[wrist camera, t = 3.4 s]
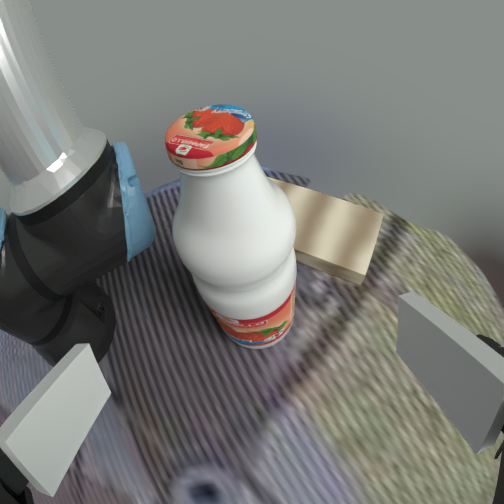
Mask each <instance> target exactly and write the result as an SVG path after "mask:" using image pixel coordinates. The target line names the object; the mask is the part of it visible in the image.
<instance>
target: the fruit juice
mask: <svg viewBox="0 0 504 504" xmlns="http://www.w3.org/2000/svg"><path fill="white" fill-rule="evenodd" d="M256 139H257V133H256V128H255V125H254V121H253V119H252V117H251V115H250V114H249V113H248V112H247V111H245V110H244V109H242V108H240V107H236V106H232V105H212V106H207V107H203V108H199V109H196V110H194V111H191V112H189V113H187V114H185V115H183V116H182V117H180V118H179V119H178V120H176V121H175V122H174V123H173V124H172V125H171V126H170V127H169V129H168V131H167V133H166V136H165V145H166V149H167V153H168V156H169V159H170V160H171V162H172V164H173V166H174V167H175V168H176V169H177V170H178V171H179V172H180V197H179V203H178V207H177V209H176V211H175V214H174V218H173V225H172V234H173V241H174V245H175V248H176V250H177V253H178V255H179V257H180V259H181V261H182V262H183V264H184V265H185V266H186V268H187V269H188V270H189V271H190V272H191V273H192V277H193V280H194V283H195V285H196V287H197V290H198V292H199V294H200V295H201V297H202V299H203V300H204V301H205V303H206V304H207V306H208V307H209V309H210V310H211V312H212V314H213V315H214V317H215V318H216V320H217V321H218V323H219V324H220V326H221V327H222V329H223V330H224V332H225V333H226V335H227V336H228V337H229V338H230V339H231V340H232V341H234V342H235V343H237V344H238V345H240V346H243V347H246V348H250V349H263V348H267V347H270V346H272V345H274V344H276V343H278V342H279V341H280V340H282V339H283V338H284V337H285V335H286V334H287V333H288V331H289V329H290V327H291V325H292V323H293V318H294V306H295V287H296V272H297V267H296V256H295V251H294V247H293V244H294V241H295V235H296V223H295V215H294V211H293V207H292V205H291V202H290V200H289V199H288V197H287V195H286V194H285V193H284V191H283V190H282V189H281V188H280V187H279V186H278V185H277V184H276V183H274V182H273V181H272V180H270V179H269V178H267V177H266V175H265V173H264V172H263V170H262V168H261V166H260V165H259V163H258V161H257V159H256V157H255V155H254V151H255V148H256V144H257V141H256Z"/></svg>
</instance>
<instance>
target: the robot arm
mask: <svg viewBox="0 0 504 504" xmlns="http://www.w3.org/2000/svg"><path fill="white" fill-rule="evenodd" d="M0 169H1V170H2V172H3V173H4V175H5V176H6V177H7V179H8V180H9V182H10V183H11V195H10V209H11V211H12V213H11V214H9V215H7V214H6V211H5V210H4V209H3V208H2V209H1V208H0V329H2V330H3V331H5V332H7V333H9V334H11V335H13V336H15V337H17V338H19V339H21V340H23V341H25V342H27V343H29V344H31V345H32V346H33V347H34V348H35V350H36V351H37V352H38V353H39V354H40V355H41V356H42V357H43V358H44V359H45V360H46V361H47V362H48V363H49V364H50V365H52V366H53V367H54V368H53V369H52V370H51V371H50V372H49V373H48V374H47V375H46V376H45V377H44V378H43V379H42V380H41V381H40V383H39V384H38V385H37V386H36V387H35V388H34V389H33V390H32V391H31V392H30V394H29V395H28V396H27V397H26V398H25V399H24V400H23V401H22V402H21V404H20V405H19V406H18V407H17V408H16V409H15V410H14V412H13V413H12V414H11V415H10V416H9V417H8V419H7V420H6V421H5V422H4V423H3V424H2V426H1V427H0V504H34V503H33V498H32V493H31V491H30V489H29V488H28V487H27V486H26V485H27V484H28V482H30V483H31V484H32V485H33V486H34V487H35V488H36V489H37V490H38V491H39V492H41V493H44V494H46V495H49V496H52V497H53V496H54V494H55V493H56V491H57V489H58V487H59V485H60V483H61V481H62V479H63V477H64V475H65V473H66V472H67V470H68V468H69V466H70V464H71V462H72V460H73V459H74V457H75V455H76V453H77V451H78V450H79V448H80V446H81V444H82V442H83V441H84V439H85V437H86V435H87V434H88V432H89V430H90V428H91V427H92V425H93V423H94V421H95V420H96V418H97V416H98V414H99V413H100V411H101V409H102V408H103V406H104V404H105V403H106V401H107V399H108V398H109V396H110V394H111V392H110V389H109V387H108V385H107V383H106V381H105V379H104V377H103V375H102V373H101V370H100V368H99V366H98V362H99V361H100V360H101V359H102V358H103V357H104V355H105V354H106V352H107V350H108V348H109V346H110V344H111V341H112V338H113V334H114V329H115V313H114V308H113V305H112V302H111V300H110V298H109V297H108V295H107V294H106V293H105V292H104V291H103V290H102V289H101V288H100V287H99V286H97V285H96V284H95V283H93V282H92V281H94V280H95V279H97V278H99V277H101V276H102V275H104V274H106V273H108V272H110V271H111V270H113V269H115V268H117V267H118V266H120V265H122V264H124V263H126V262H127V263H128V262H129V261H131V259H132V258H133V257H134V256H136V255H137V254H139V253H140V252H142V251H143V250H145V249H147V248H148V247H150V245H151V244H152V243H153V241H154V240H155V236H156V228H155V224H154V221H153V218H152V215H151V212H150V210H149V207H148V204H147V201H146V198H145V196H144V193H143V190H142V188H141V185H140V182H139V180H138V176H137V174H136V171H135V167H134V164H133V161H132V158H131V155H130V153H129V150H128V147H127V145H126V144H125V143H124V142H119V143H116V142H115V143H113V144H112V146H110V144H109V142H108V140H107V138H106V136H105V134H104V133H103V132H102V131H100V130H95V129H91V128H86V127H83V126H82V124H81V122H80V120H79V118H78V117H77V114H76V112H75V110H74V108H73V106H72V104H71V102H70V100H69V98H68V96H67V93H66V91H65V89H64V87H63V85H62V83H61V80H60V78H59V76H58V74H57V71H56V69H55V67H54V65H53V62H52V60H51V57H50V55H49V53H48V50H47V47H46V45H45V43H44V40H43V37H42V35H41V32H40V30H39V27H38V24H37V21H36V19H35V16H34V13H33V10H32V7H31V4H30V1H29V0H0ZM396 353H397V354H398V355H399V356H400V358H401V359H402V360H403V361H404V362H405V364H406V365H407V366H408V367H409V369H410V370H411V371H412V372H413V373H414V375H415V376H416V377H417V378H418V380H419V381H420V382H421V383H422V385H423V386H424V387H425V388H426V390H427V391H428V392H429V393H430V395H431V396H432V397H433V398H434V400H435V401H436V402H437V403H438V405H439V406H440V407H441V408H442V410H443V411H444V412H445V414H446V415H447V416H448V417H449V419H450V420H451V421H452V423H453V424H454V425H455V427H456V428H457V429H458V431H459V432H460V433H461V435H462V436H463V437H464V439H465V440H466V441H467V443H468V444H469V445H470V447H471V448H472V449H473V451H474V452H475V453H476V455H477V454H479V453H480V452H482V451H484V450H485V449H487V448H488V447H490V446H491V445H493V444H494V443H495V441H496V440H497V438H498V436H499V434H500V432H501V431H502V432H503V433H504V347H502V348H501V345H500V344H498V343H497V342H495V341H494V340H493V339H491V338H488V337H485V336H483V335H480V334H479V335H477V336H475V335H474V334H472V333H471V332H470V331H468V330H467V329H466V328H464V327H463V326H462V325H460V324H459V323H457V322H456V321H455V320H453V319H452V318H451V317H449V316H448V315H446V314H445V313H444V312H442V311H441V310H439V309H438V308H437V307H435V306H434V305H432V304H431V303H429V302H428V301H427V300H425V299H424V298H422V297H421V296H419V295H418V294H416V293H415V292H411V293H407V294H403V295H399V296H398V331H397V349H396ZM501 451H502V455H501V463H500V469H499V475H498V481H497V486H496V491H495V496H494V500H493V504H504V440H503V442H502V444H501V446H500V448H499V449H498V451H497V453H496V455H495V458H494V459H497V458H498V456H499V455H500V453H501Z"/></svg>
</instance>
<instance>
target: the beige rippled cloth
mask: <svg viewBox="0 0 504 504" xmlns="http://www.w3.org/2000/svg"><path fill="white" fill-rule="evenodd" d="M267 178H269V177H267ZM269 179H270V180H272V181H273V182H274V183H276V184H277V185H278V186H279V187H280V188H281V189H282V190H283V191H284V193H285V194H286V195H287V197H288V199H289V200H290V202H291V205H292V207H293V211H294V215H295V223H296V235H295V241H294V244H293V247H294V251H295V256H296V261H297V262H299V263H302V264H305V265H307V266H310V267H313V268H315V269H318V270H321V271H323V272H326V273H329V274H331V275H334V276H337V277H339V278H342V279H344V280H347V281H350V282H352V283H355V284H358V285H360V286H361V284H362V281H363V279H364V277H365V275H366V272H367V269H368V266H369V263H370V259H371V256H372V253H373V250H374V246H375V243H376V240H377V236H378V233H379V229H380V226H381V222H382V218H383V214H381V213H379V212H376V211H373V210H370V209H367V208H365V207H362V206H359V205H356V204H353V203H350V202H347V201H344V200H341V199H338V198H335V197H332V196H329V195H325V194H323V193H319V192H316V191H313V190H310V189H307V188H303V187H300V186H297V185H293V184H290V183H286V182H283V181H279V180H276V179H272V178H269Z"/></svg>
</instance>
